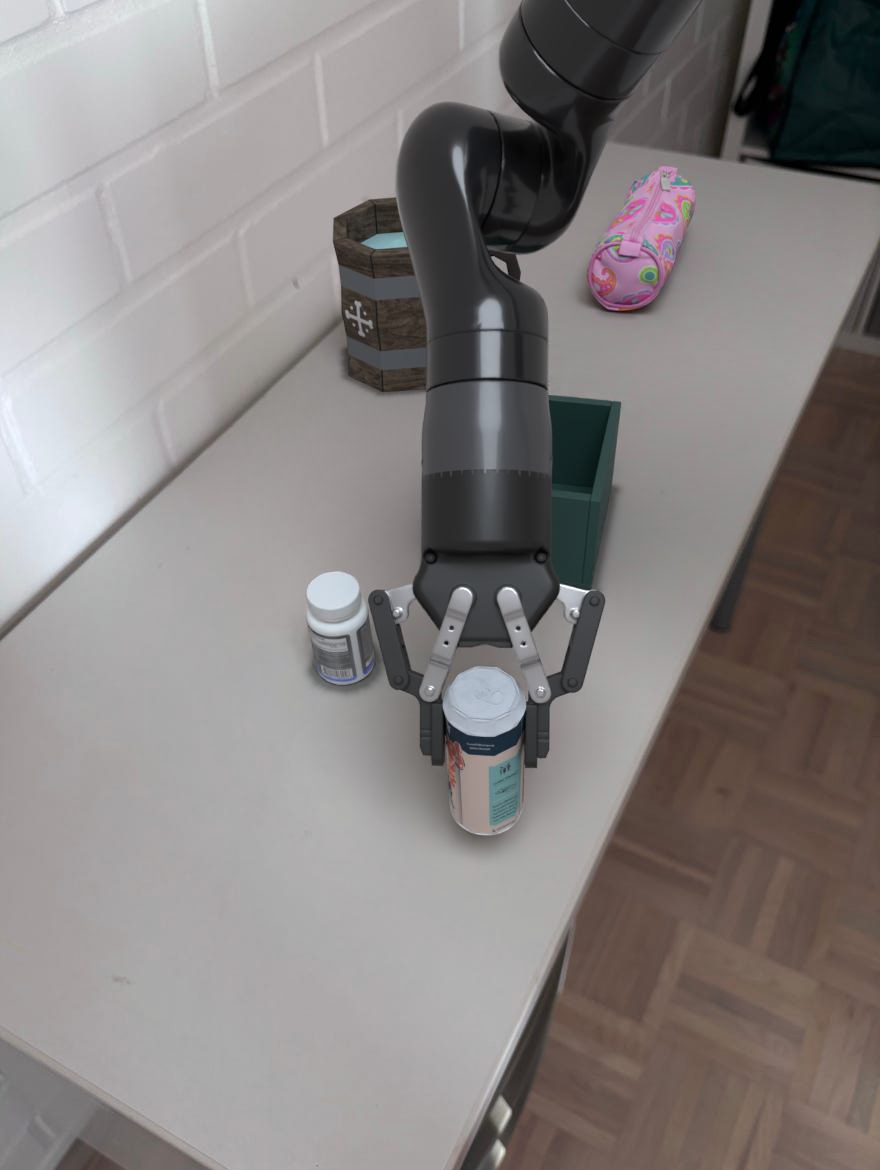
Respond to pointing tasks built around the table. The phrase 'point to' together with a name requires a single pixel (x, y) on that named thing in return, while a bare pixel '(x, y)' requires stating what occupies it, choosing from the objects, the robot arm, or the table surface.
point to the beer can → (485, 749)
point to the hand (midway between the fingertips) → (484, 763)
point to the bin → (580, 483)
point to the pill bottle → (339, 628)
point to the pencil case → (642, 241)
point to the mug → (383, 297)
